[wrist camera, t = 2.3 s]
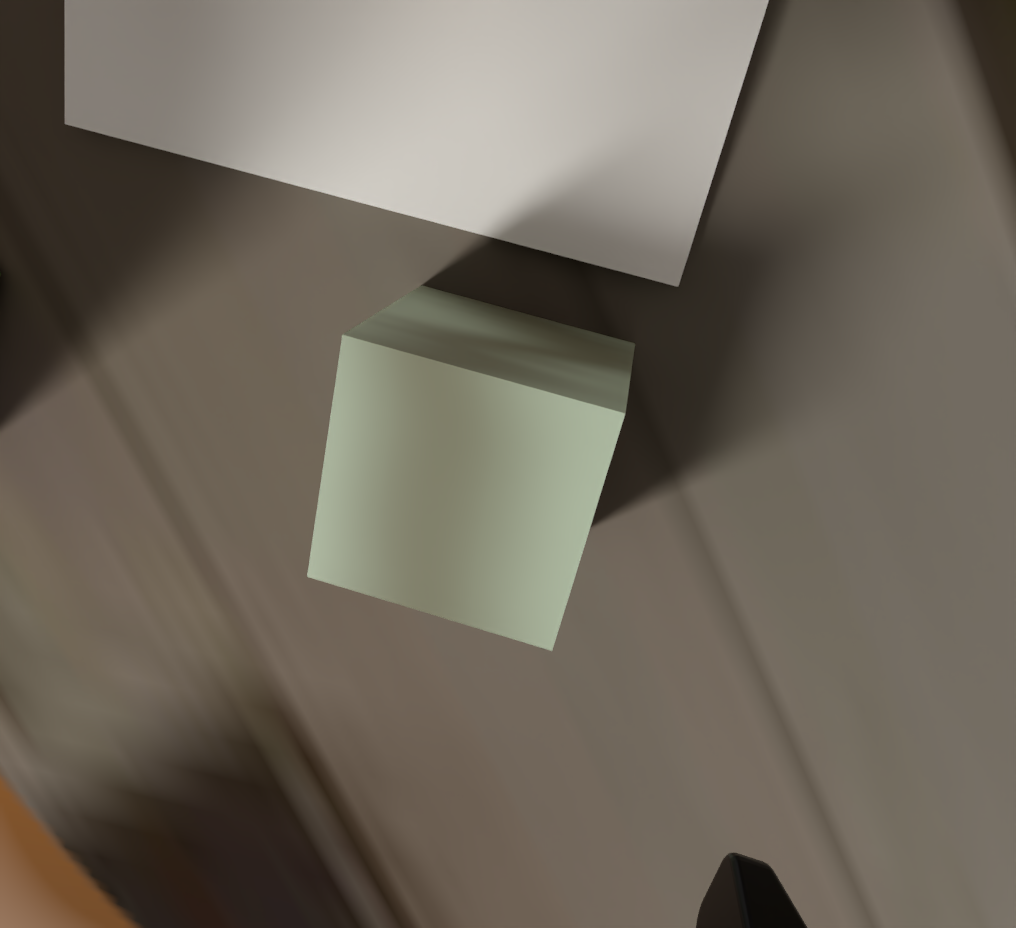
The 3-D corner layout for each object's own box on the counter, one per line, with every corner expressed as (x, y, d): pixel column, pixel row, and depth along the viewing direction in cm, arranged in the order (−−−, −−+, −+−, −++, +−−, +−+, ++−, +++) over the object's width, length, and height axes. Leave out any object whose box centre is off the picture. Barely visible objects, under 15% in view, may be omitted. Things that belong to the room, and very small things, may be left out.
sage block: (635, 342, 18) (625, 413, 13) (577, 533, 20) (551, 650, 15) (422, 284, 18) (342, 334, 14) (386, 477, 20) (307, 576, 16)
